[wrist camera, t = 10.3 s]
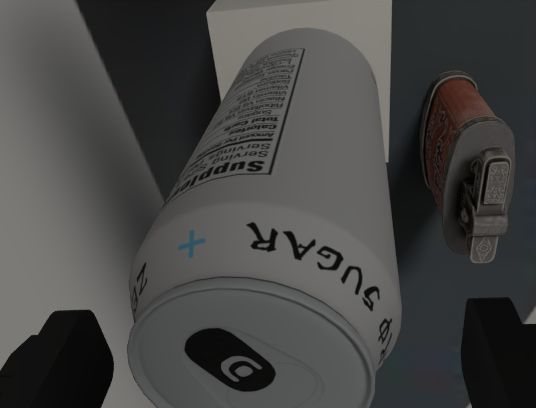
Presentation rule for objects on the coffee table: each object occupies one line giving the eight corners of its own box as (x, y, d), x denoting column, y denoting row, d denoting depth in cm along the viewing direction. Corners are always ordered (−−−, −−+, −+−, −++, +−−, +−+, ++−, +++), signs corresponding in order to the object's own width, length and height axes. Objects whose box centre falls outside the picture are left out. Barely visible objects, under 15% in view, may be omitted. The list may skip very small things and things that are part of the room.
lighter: (467, 185, 34) (515, 285, 26) (416, 187, 34) (447, 286, 26) (482, 68, 30) (547, 144, 21) (424, 72, 30) (464, 148, 22)
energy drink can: (303, 175, 24) (252, 491, 12) (212, 87, 22) (40, 353, 10) (406, 97, 21) (477, 406, 9) (311, -12, 20) (240, 192, 7)
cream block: (223, -9, 24) (205, 12, 21) (380, -25, 23) (391, -6, 20) (244, 131, 28) (233, 170, 25) (378, 122, 27) (388, 161, 24)
